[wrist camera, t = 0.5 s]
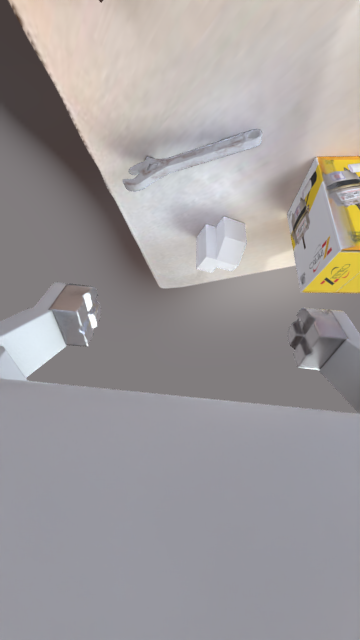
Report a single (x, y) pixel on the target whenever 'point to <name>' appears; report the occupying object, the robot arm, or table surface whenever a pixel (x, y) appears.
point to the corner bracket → (221, 245)
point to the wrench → (189, 159)
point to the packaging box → (328, 226)
